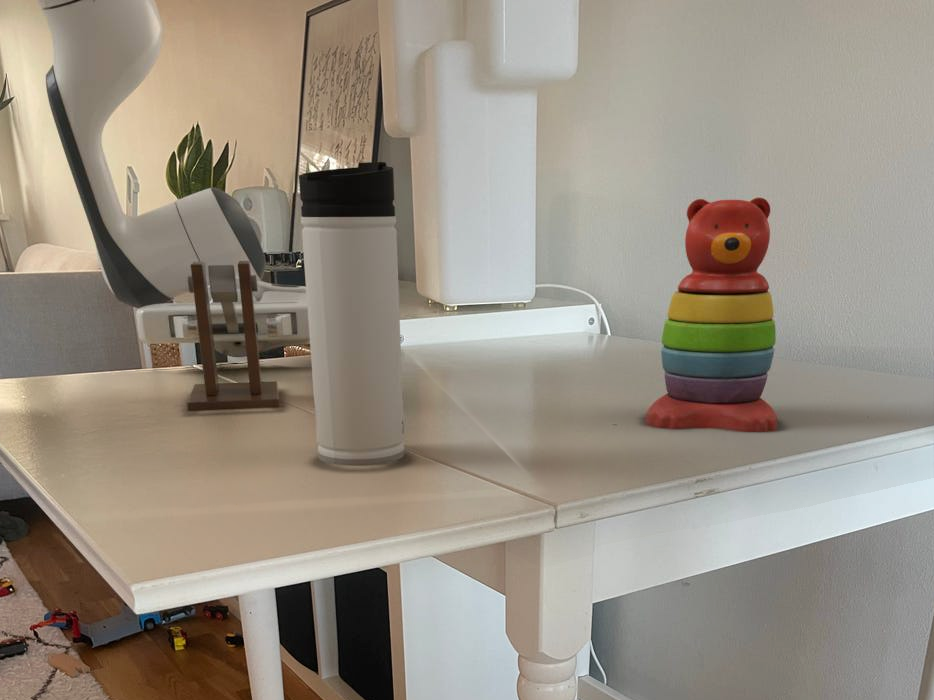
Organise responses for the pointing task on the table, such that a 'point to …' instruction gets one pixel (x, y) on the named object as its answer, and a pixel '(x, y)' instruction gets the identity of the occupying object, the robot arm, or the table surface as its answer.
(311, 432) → the table surface
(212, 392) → the brown wooden stand
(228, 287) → the lever
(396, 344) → the travel mug
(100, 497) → the table surface
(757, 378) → the stacking bear
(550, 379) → the table surface
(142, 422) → the table surface
